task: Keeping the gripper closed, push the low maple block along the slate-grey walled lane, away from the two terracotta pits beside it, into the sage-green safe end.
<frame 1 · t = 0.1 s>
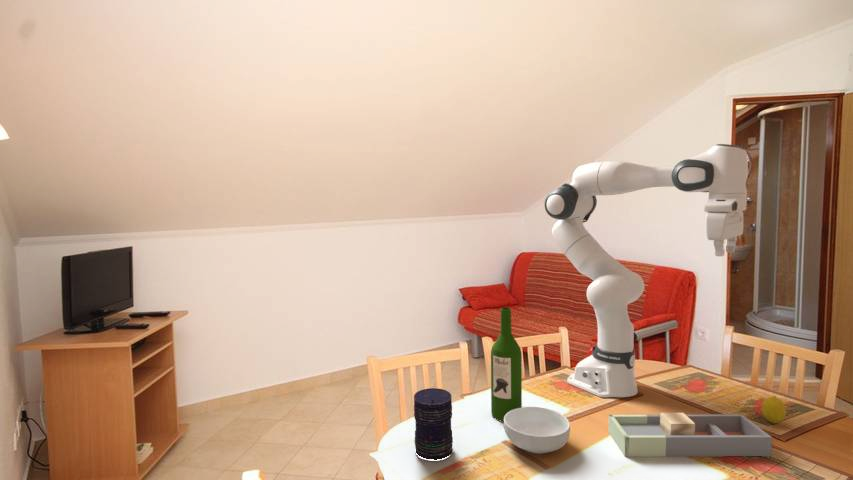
hand: (725, 254, 131), 48 cm above the table, tool pointing down, fingers open, 8 cm apart
cereal bowl: (536, 446, 125), on the table
lemon: (772, 424, 133), on the table
wine bottle: (506, 415, 142), on the table
block: (676, 432, 124), point 3 cm above the table, touching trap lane
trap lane: (686, 443, 124), on the table
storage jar: (433, 452, 123), on the table
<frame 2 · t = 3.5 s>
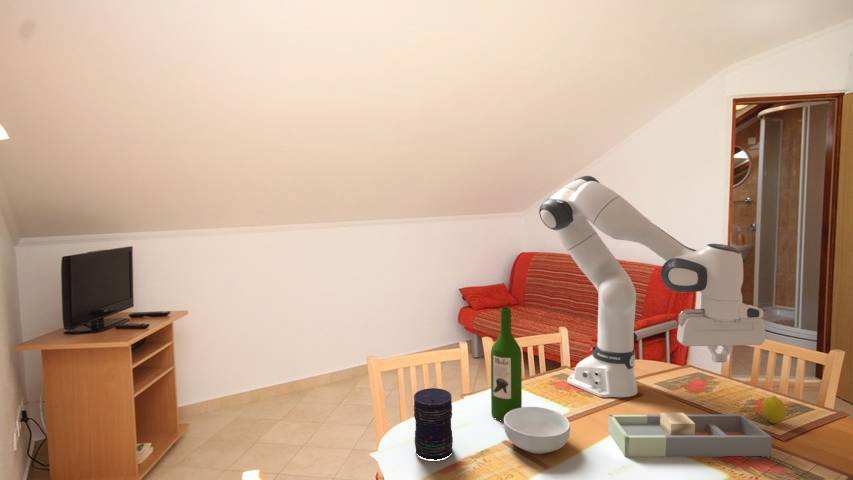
hand: (719, 361, 121), 22 cm above the table, tool pointing down, fingers closed
nothing on the table moved.
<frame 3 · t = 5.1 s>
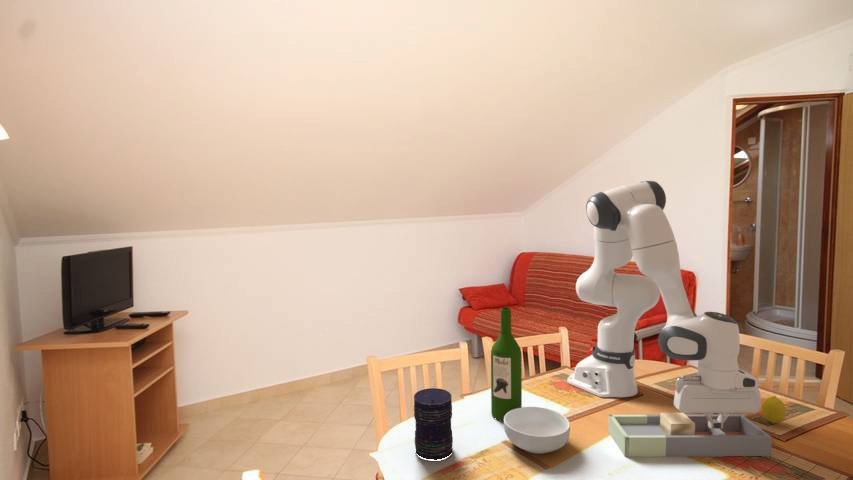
hand: (715, 427, 123), 4 cm above the table, tool pointing down, fingers closed
nothing on the table moved.
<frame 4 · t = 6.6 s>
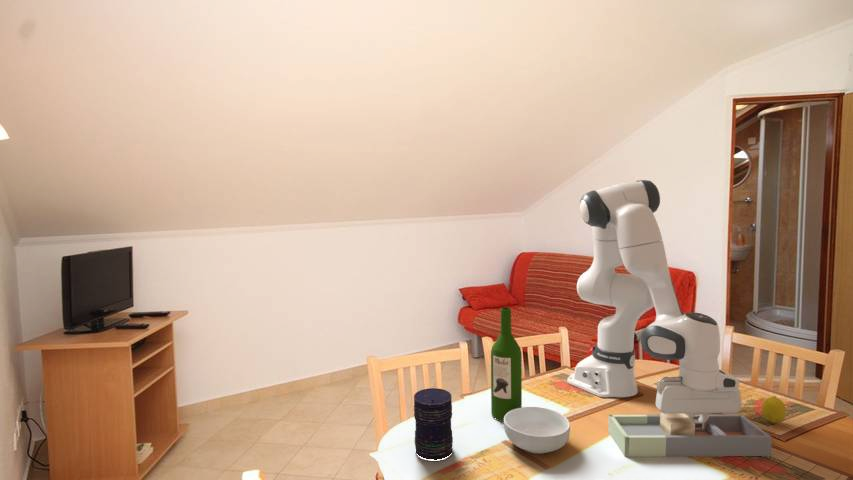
hand: (696, 427, 124), 4 cm above the table, tool pointing down, fingers closed
block: (676, 432, 124), point 3 cm above the table, touching gripper
everything else where it was.
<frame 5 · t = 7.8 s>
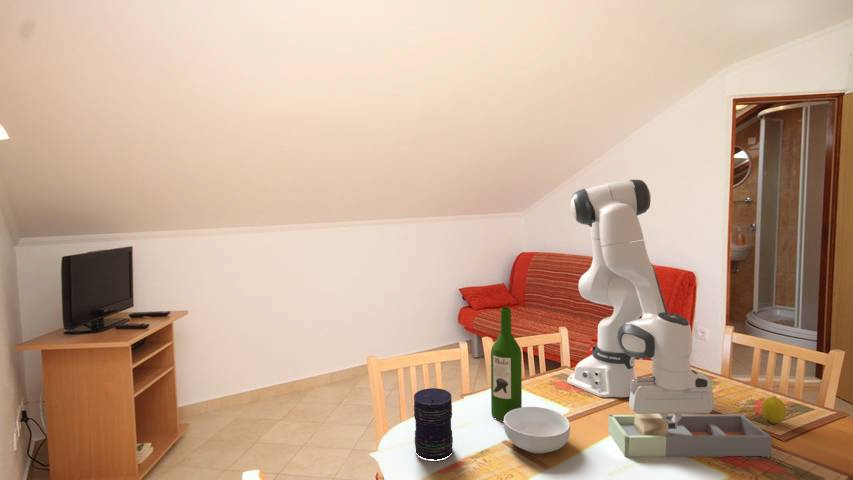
hand: (669, 428, 124), 4 cm above the table, tool pointing down, fingers closed
block: (650, 433, 124), point 3 cm above the table, touching gripper
everything else where it was.
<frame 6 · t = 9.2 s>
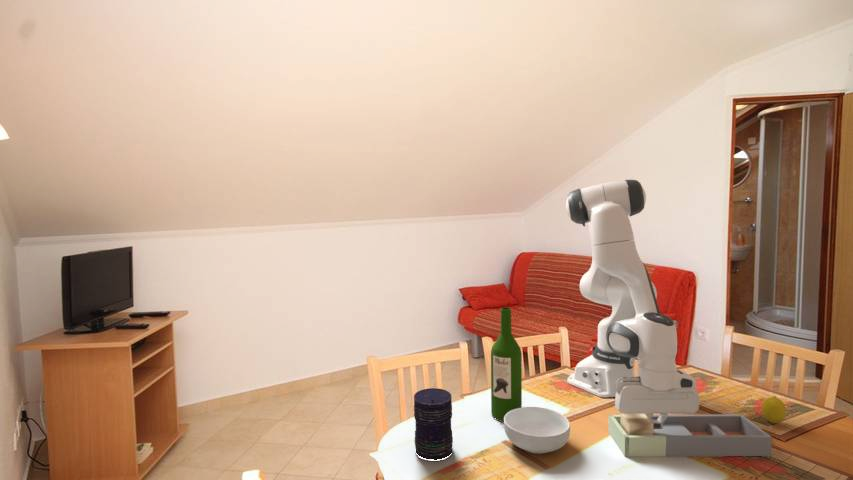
hand: (655, 428, 124), 4 cm above the table, tool pointing down, fingers closed
block: (636, 433, 124), point 3 cm above the table, touching gripper, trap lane
everything else where it was.
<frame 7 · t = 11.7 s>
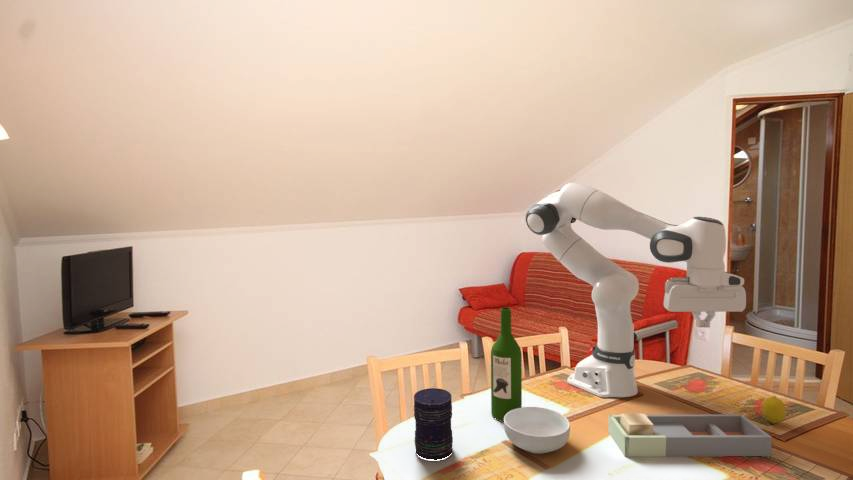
hand: (702, 326, 130), 28 cm above the table, tool pointing down, fingers closed
block: (636, 433, 124), point 3 cm above the table, touching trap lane
everything else where it was.
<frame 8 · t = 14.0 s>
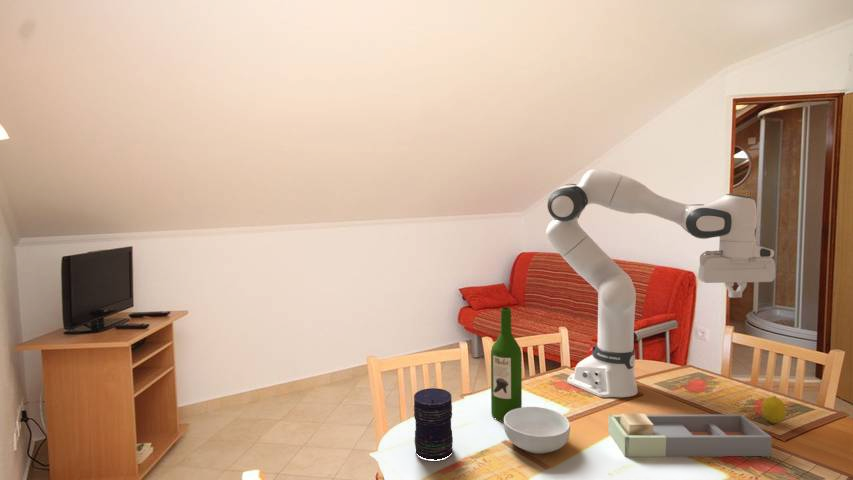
hand: (735, 297, 139), 34 cm above the table, tool pointing down, fingers closed
nothing on the table moved.
at the end: block inside the target area (1.2 cm from its centre), point 3.0 cm above the table; block moved 10.5 cm from its start; block tilted 0° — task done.
